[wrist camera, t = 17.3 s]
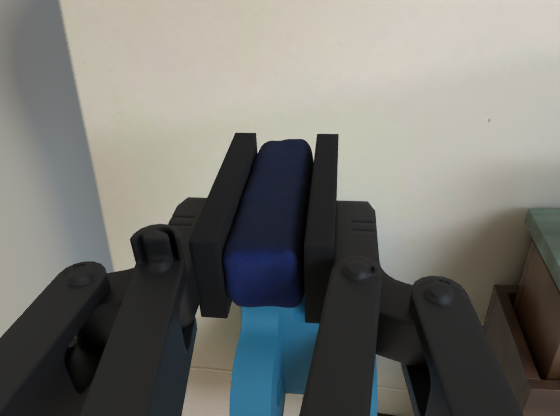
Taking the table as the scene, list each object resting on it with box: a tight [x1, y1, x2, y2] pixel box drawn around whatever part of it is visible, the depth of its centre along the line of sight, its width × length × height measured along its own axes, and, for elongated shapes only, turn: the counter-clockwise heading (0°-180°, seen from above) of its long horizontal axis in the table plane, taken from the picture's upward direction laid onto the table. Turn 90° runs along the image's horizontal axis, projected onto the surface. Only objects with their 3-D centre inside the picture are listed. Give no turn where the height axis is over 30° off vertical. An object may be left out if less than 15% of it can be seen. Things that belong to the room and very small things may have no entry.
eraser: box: [222, 139, 314, 308], centre depth 16 cm, size 2×2×7 cm
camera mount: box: [230, 296, 377, 416], centre depth 38 cm, size 18×10×10 cm, turn 4°
